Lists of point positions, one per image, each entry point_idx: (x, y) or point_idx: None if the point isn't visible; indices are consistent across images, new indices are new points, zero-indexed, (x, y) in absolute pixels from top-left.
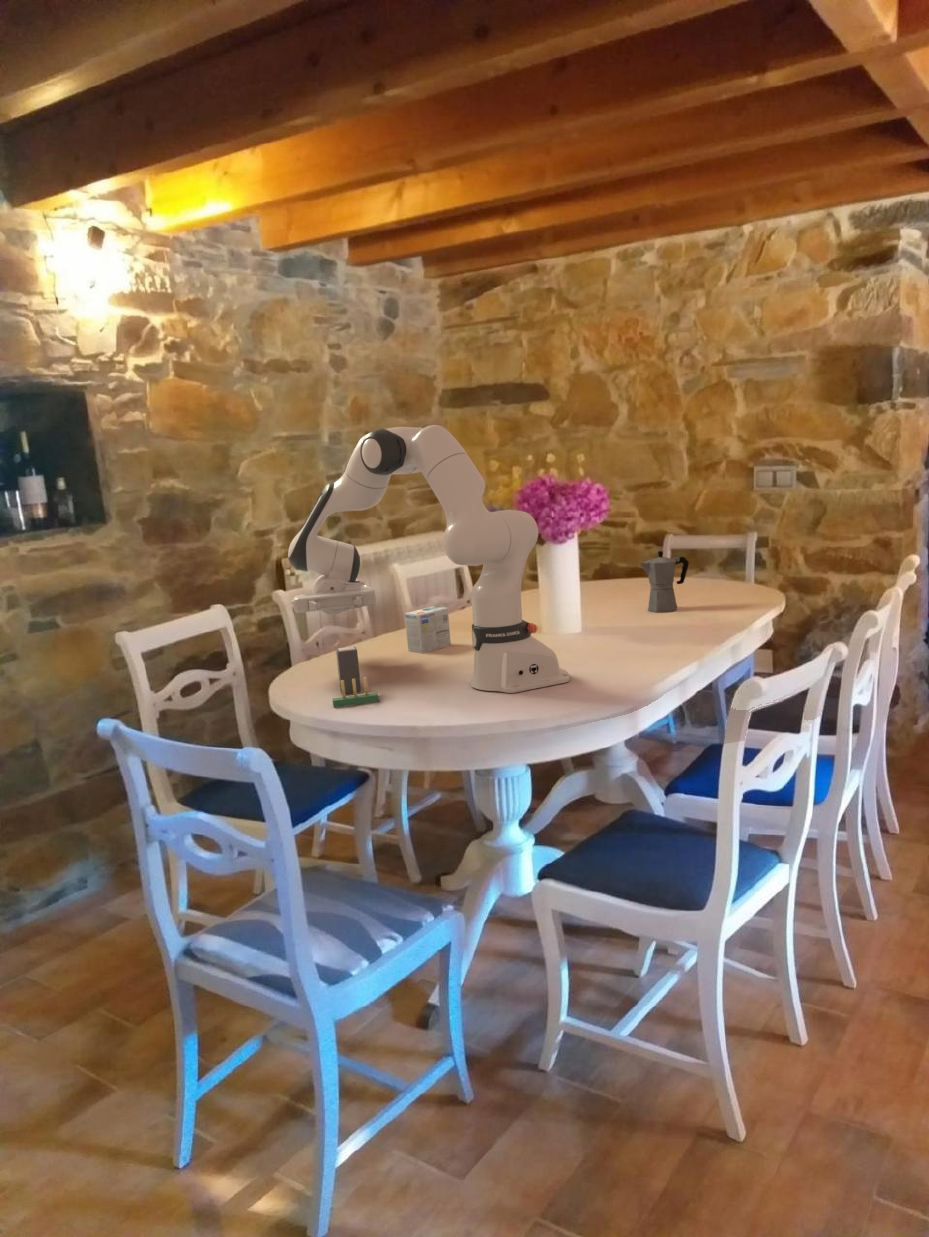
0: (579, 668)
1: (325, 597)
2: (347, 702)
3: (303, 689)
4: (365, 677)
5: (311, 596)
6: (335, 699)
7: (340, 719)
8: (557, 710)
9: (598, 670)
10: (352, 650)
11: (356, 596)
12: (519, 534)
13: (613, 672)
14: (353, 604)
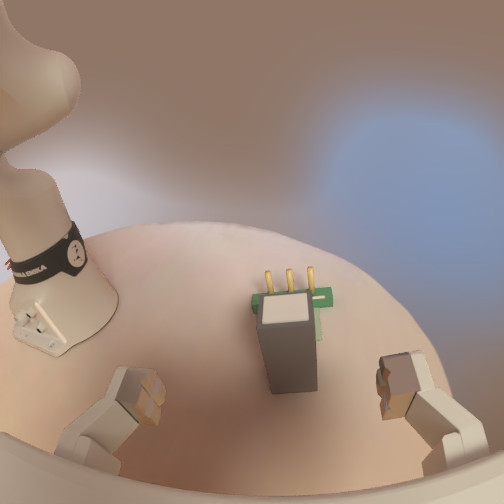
0: (3, 326)
1: (341, 493)
2: None
3: (406, 428)
4: (266, 272)
5: (482, 500)
6: (327, 292)
7: (320, 253)
8: (119, 235)
9: (5, 312)
10: (271, 294)
11: (91, 440)
12: None
13: (8, 302)
14: (157, 405)
